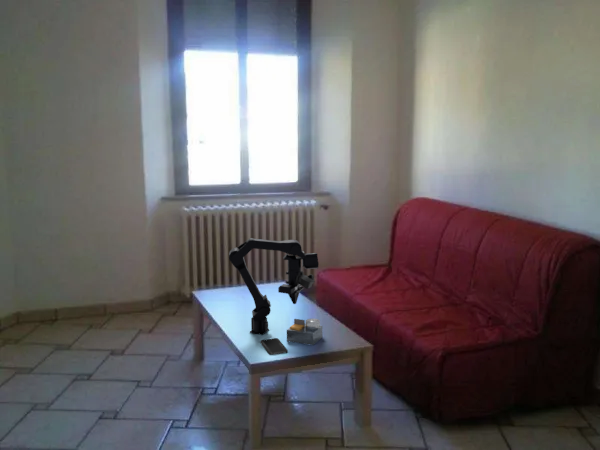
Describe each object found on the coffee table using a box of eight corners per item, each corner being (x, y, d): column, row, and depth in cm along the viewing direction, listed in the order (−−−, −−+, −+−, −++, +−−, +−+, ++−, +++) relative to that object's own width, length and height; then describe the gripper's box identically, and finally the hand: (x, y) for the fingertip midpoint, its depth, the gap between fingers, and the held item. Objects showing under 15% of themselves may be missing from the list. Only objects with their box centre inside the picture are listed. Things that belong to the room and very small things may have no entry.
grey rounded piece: (303, 338, 246) (303, 322, 245) (309, 333, 252) (309, 317, 250) (316, 340, 244) (316, 324, 242) (322, 335, 249) (321, 319, 248)
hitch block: (286, 341, 246) (286, 329, 245) (296, 333, 255) (296, 322, 254) (313, 345, 241) (313, 333, 240) (322, 337, 250) (322, 326, 249)
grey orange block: (295, 325, 250) (289, 328, 246) (294, 318, 250) (289, 322, 245) (304, 326, 249) (299, 330, 244) (304, 320, 248) (299, 323, 244)
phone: (269, 353, 231) (259, 340, 245) (269, 356, 231) (259, 342, 245) (288, 350, 233) (277, 337, 247) (288, 353, 234) (277, 340, 248)
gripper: (300, 276, 242) (301, 312, 245) (320, 266, 259) (320, 300, 261) (277, 273, 247) (277, 308, 250) (298, 263, 264) (298, 297, 266)
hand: (294, 303), depth 257 cm, fingers closed
